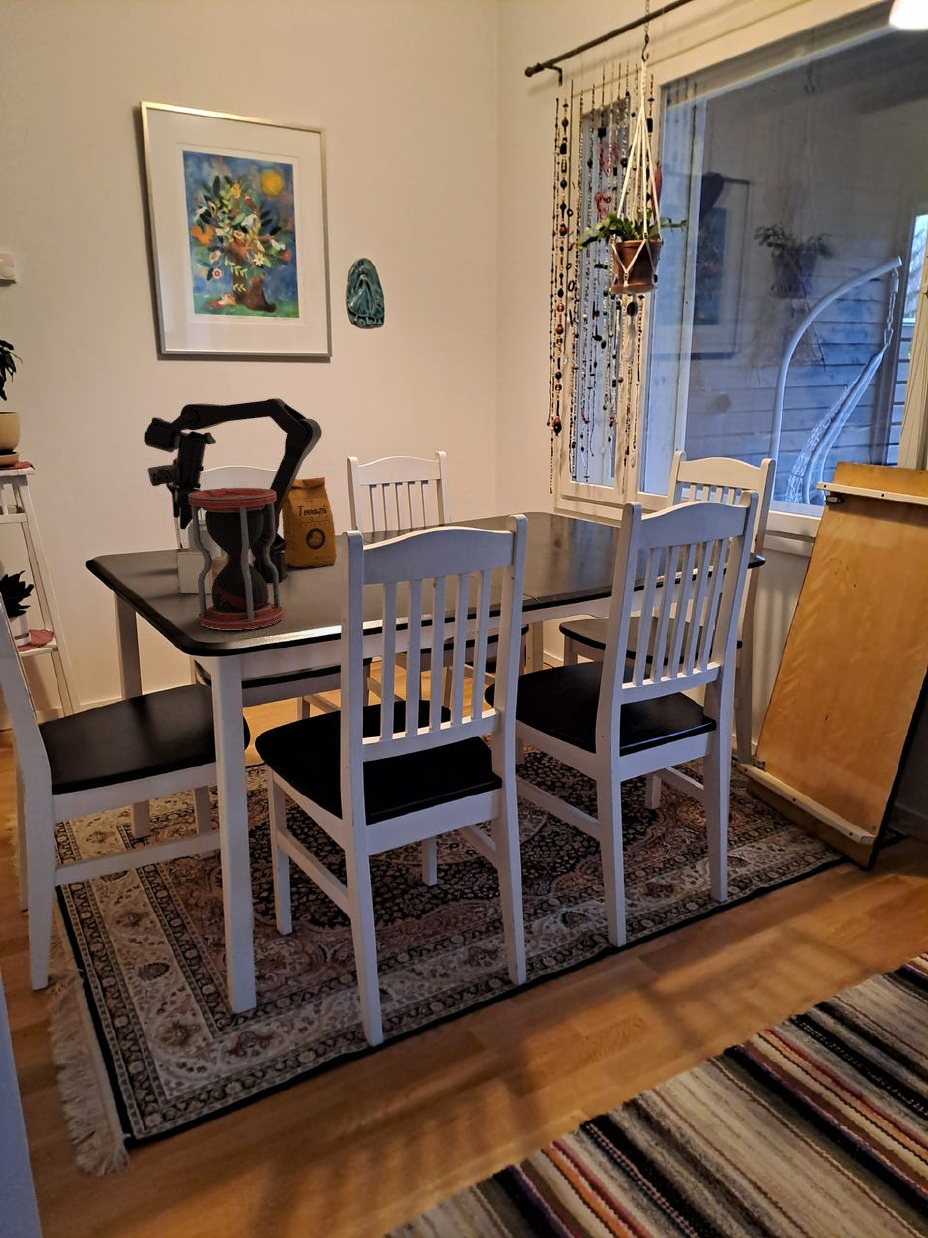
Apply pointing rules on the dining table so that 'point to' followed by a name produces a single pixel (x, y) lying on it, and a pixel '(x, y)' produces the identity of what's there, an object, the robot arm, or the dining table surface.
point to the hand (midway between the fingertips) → (179, 523)
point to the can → (203, 540)
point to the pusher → (217, 565)
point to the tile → (192, 572)
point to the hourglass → (236, 557)
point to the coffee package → (308, 525)
